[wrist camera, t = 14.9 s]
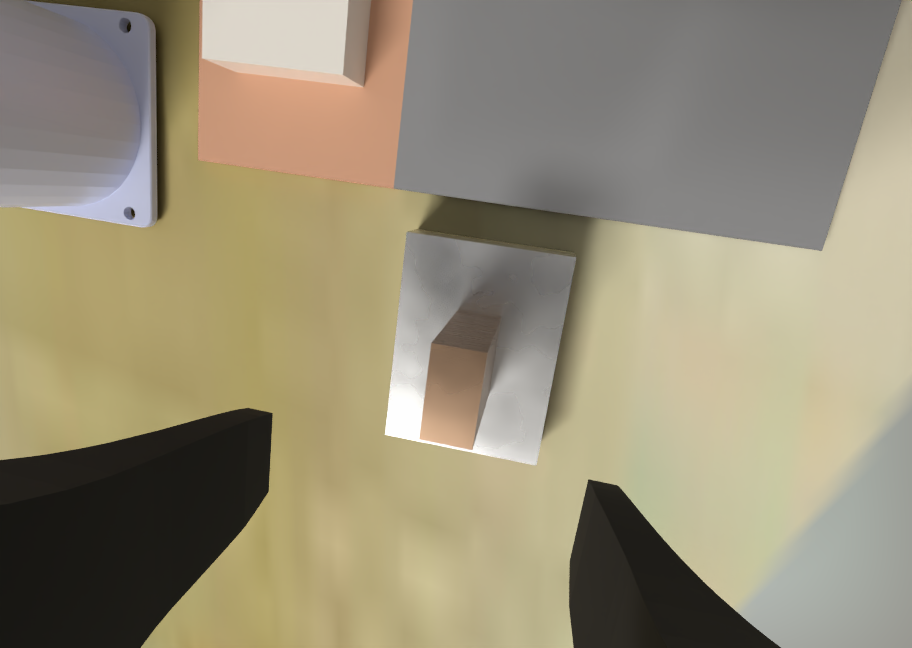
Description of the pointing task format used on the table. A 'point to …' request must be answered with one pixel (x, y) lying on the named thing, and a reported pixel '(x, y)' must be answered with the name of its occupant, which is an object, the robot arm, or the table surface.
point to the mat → (583, 109)
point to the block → (289, 38)
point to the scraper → (477, 343)
